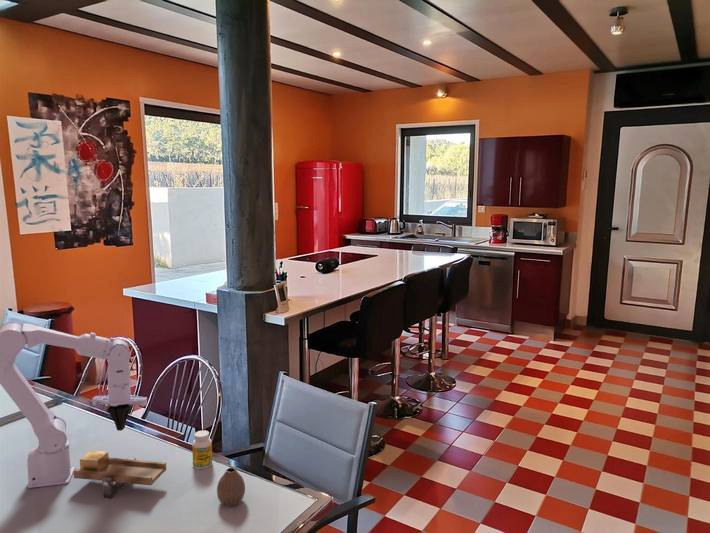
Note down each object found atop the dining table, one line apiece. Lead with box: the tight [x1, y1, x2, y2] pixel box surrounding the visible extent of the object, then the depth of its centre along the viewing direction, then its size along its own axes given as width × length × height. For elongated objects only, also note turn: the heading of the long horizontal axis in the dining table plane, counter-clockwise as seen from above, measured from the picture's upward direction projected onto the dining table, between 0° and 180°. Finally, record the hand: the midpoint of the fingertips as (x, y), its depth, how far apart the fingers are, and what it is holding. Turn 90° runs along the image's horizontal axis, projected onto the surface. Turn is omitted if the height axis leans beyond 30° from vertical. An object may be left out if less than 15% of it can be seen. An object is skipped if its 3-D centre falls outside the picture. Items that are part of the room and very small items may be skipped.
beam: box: [73, 457, 167, 486], centre depth 135 cm, size 22×8×2 cm, turn 81°
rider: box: [79, 449, 110, 471], centre depth 135 cm, size 5×5×4 cm
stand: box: [102, 456, 137, 499], centre depth 135 cm, size 2×12×5 cm, turn 171°
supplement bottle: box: [191, 429, 213, 470], centre depth 146 cm, size 5×5×10 cm
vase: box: [216, 467, 246, 508], centre depth 129 cm, size 7×7×9 cm
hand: (120, 428), depth 145 cm, fingers closed
